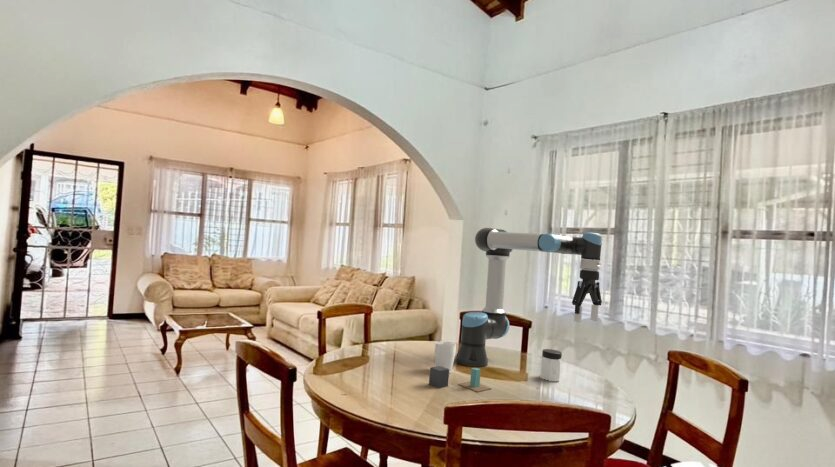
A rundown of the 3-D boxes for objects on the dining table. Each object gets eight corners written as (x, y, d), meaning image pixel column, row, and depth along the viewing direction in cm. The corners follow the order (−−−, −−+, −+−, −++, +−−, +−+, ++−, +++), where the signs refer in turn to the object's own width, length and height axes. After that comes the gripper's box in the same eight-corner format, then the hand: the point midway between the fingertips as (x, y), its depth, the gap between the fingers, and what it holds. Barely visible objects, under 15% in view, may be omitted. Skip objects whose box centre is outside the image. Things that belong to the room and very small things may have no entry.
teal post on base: (458, 384, 175) (459, 366, 175) (471, 381, 180) (473, 364, 181) (477, 392, 168) (479, 373, 168) (491, 389, 173) (492, 370, 173)
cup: (454, 375, 188) (457, 346, 188) (433, 373, 188) (435, 344, 188) (453, 369, 197) (455, 342, 197) (432, 367, 197) (435, 340, 197)
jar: (544, 381, 191) (546, 353, 191) (536, 375, 199) (538, 348, 199) (563, 382, 192) (566, 354, 192) (555, 376, 200) (557, 349, 200)
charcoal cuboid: (428, 384, 172) (430, 367, 172) (438, 382, 176) (439, 365, 176) (438, 388, 168) (439, 370, 169) (447, 386, 172) (449, 369, 172)
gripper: (583, 269, 175) (578, 324, 174) (612, 271, 191) (608, 321, 191) (565, 268, 180) (561, 320, 180) (595, 270, 197) (592, 318, 196)
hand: (585, 321), depth 185 cm, fingers open, 13 cm apart
